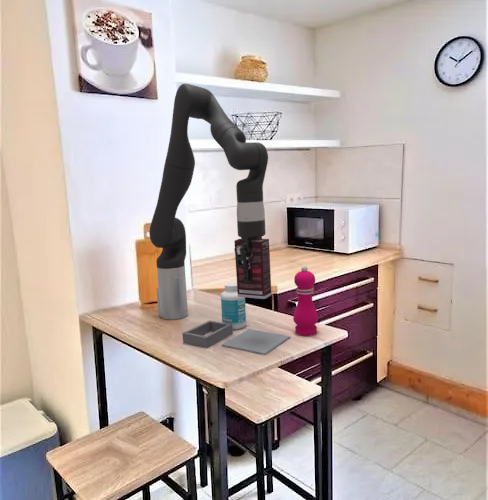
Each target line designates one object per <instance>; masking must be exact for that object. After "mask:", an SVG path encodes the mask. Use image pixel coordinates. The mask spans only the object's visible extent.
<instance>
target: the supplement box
mask: <svg viewBox="0 0 488 500" xmlns="http://www.w3.org/2000/svg"><path fill="white" fill-rule="evenodd" d="M233 241H234V248H235V247H239V246H241V241H242V238H241V237H240V238H238V239H235V240H233ZM253 248H254V256H253V257H254V260H253V261H252V267H251V269H252V282H251V283H245V282H244V275H243V269H242V268H238V265H237V260H236V255H234V258H235V272H236V283H237V292H238V297H245V298H249V299H258V300H259V299H260V300H265V299H268V298H269V297H271V296H272V280H271V278H272V277H271V276H272V274H271V258H270V253H271V252H270V239H269V238H262V239H255V240H252V241H251V251H252V249H253ZM250 256H251V255H250ZM250 256H249V255H246V257H250ZM241 263H242V260H241ZM247 264H248V260H247Z"/></svg>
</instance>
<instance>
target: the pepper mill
mask: <svg viewBox="0 0 488 500" xmlns="http://www.w3.org/2000/svg"><path fill="white" fill-rule="evenodd" d="M293 281H294V284H295V285H296V287H295V289H296V294H297V296H298V297H297V300H298V301H297V304H296V307H295V309H294V312H293V317H292V318H293V319H292V321H293V322H294V324H296V325H295V326H294V328H295V329H294V332H295V334H297V335H298V336H302V337H311V335H312V336H314V335H316V334H317V333H318V327H317V325H316V324H317V323H318V322H319V315H318V311H317V309H316V307H315V306H314V302H313V294H314V292H315V291H314V287H313V286H314V285H315V284H316V276H315V275H314V273H313V272H312V271H310V270H308V266H307V265H302V266H301V271H298V272H297V273H296V274H295V275H294V280H293Z"/></svg>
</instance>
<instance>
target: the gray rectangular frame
mask: <svg viewBox="0 0 488 500" xmlns="http://www.w3.org/2000/svg"><path fill="white" fill-rule="evenodd" d="M233 331H234V329H232V324H228V323H222V321H216V320H207V321H205V322H203V323H201V324H199V325H196V326H194V327H193V328H191V329H188V330H186V331H184V332H182V343H183V344H185V343H186V344H185V345H189V346H194V347H199V348H204V349H208V348H210V347H211V346H214V345H215V344H217V343H219V342H221V341H222V340H224V339H227V338H228V337H230V336H232V335H233V334H234V333H233ZM208 333H209V334H208Z"/></svg>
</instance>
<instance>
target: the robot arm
mask: <svg viewBox="0 0 488 500" xmlns="http://www.w3.org/2000/svg"><path fill="white" fill-rule="evenodd" d="M172 109H173V111H172V119H171V127H170V136H169V142H168V147H167V152H166V157H165V161H164V164H163V165H164V167H163V171H162V172H163V173H162V178H161V181H160V182H161V183H160V188H159V192H158V197H157V202H156V206H155V210H154V213H153V216H152V219H151V222H150V226H149V233H148V234H149V239H150V242H151V243H152V245H153V246H154V247H155V248H159V249H162V251H161V253H160V254H159V256H158V257H157V258H156V260H155V261H156V262H155V263H156V275H157V286H158V288H157V289H156V300H157V303H156V304H157V312H158V314H157V315H158V317H160V318H161V319H164V320H180V319H182V318H186V317H188V315H189V310H188V309H189V308H188V307H189V306H188V295H187V294H188V292H187V280H186V279H187V278H186V265H185V264H186V263H185V260H186V257H187V235H186V234H187V233H186V228H185V225H184V223H183V222H182V220H181V219H180V218H178V217H176V214H177V212H178V211H177V210H178V208H179V205H180V204H181V202H182V200H183V198H184V197H185V195H186V194H187V192H188V190H189V189H190V186H191V184H192V180H193V175H194V171H195V166H196V159H195V156H194V152H193V149H192V146H191V142H190V140H189V135H188V134H189V133H188V130H189V129H188V127H189V120H190V119H191V118H192V119H197V120H204V121H205V122H207V123H208V124H209V125H210V129H209V130H210V134H211V137H212V139H213V140H214V141H215V142H216V143H217V144H218V145H219V147H221V148H222V150H223V152H224V154H225V157H226V160H227V162H228V164H229V165H230V167H231V168H233V169H235V170H238V171H248V170H249V172H248V175H247V177H245V178H243V179H241V180H238V181H237V183H236V186H235V187H236V202H237V203H236V222H237V223H236V227H237V236H238V237H239V238H240V239H241V238H242V241H241V246H239V247H235V246H234V254H235V255H236V259H235V261H236V260H237V265H238V268H242V269H243V275H244V282H245V283H251V282H252V269H251V267H252V261H253V260H254V257H253V256H254V248H253V249H252V251H251V241H252V240H255V239H263V237H264V236H265V235H266V234H267V233H266V217H265V216H266V213H265V204H264V189H263V188H264V181H265V176H266V171H267V168H268V163H269V162H268V161H269V154H268V150H267V148H266V146H265V145H264V144H263V143H261V142H258V141H257V142H254V141H253V142H246V141H247V139H246V135H245V133H244V132H243V131H242V129H241V128H239V126H237V125H236V124H235V123H234V122H233V121H232V120H231V119H230V118H229V117H228V115H227V114H226V113H225V111H224V109H223V108H222V106H221V105H220V103H219V102H218V100H217V98H216V97H215V95H214V94H213V92H212V91H210V90H209V89H207V88H205V87H201V86H197V85H195V84H189V83H182V84H181V85H179V86H178V88H177V90H176V93H175V96H174V103H173V108H172ZM235 255H234V256H235ZM246 255H249V256H250V255H251V256H250V257H246ZM241 260H242V263H241ZM247 260H248V264H247Z"/></svg>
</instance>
